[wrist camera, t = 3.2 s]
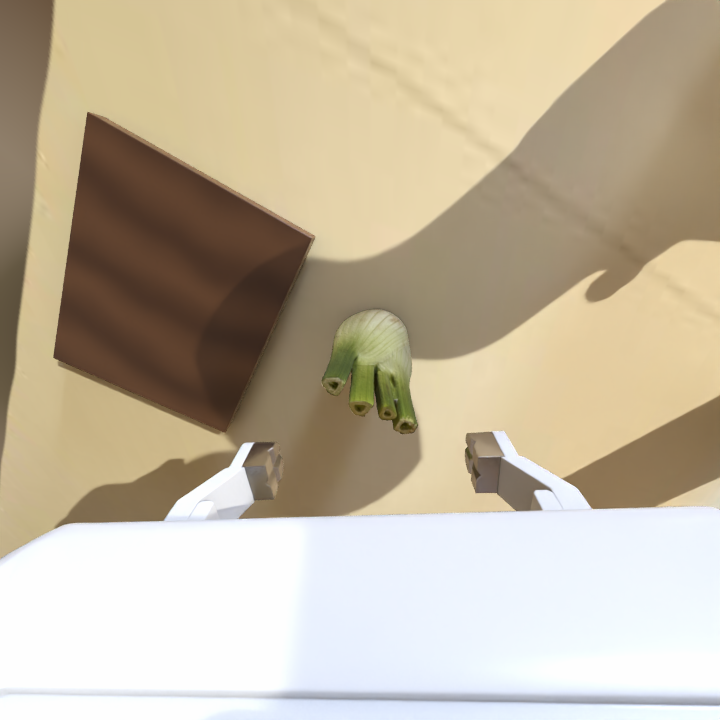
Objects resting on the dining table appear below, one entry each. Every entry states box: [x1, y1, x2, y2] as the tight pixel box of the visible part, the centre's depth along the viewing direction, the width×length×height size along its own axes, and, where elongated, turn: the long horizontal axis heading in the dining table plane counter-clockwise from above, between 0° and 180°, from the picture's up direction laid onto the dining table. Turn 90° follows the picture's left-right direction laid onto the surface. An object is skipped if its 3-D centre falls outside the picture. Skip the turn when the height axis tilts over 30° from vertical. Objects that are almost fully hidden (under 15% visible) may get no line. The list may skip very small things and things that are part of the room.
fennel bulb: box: [322, 309, 418, 434], centre depth 23 cm, size 6×5×12 cm
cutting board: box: [53, 112, 315, 433], centre depth 27 cm, size 20×16×2 cm
